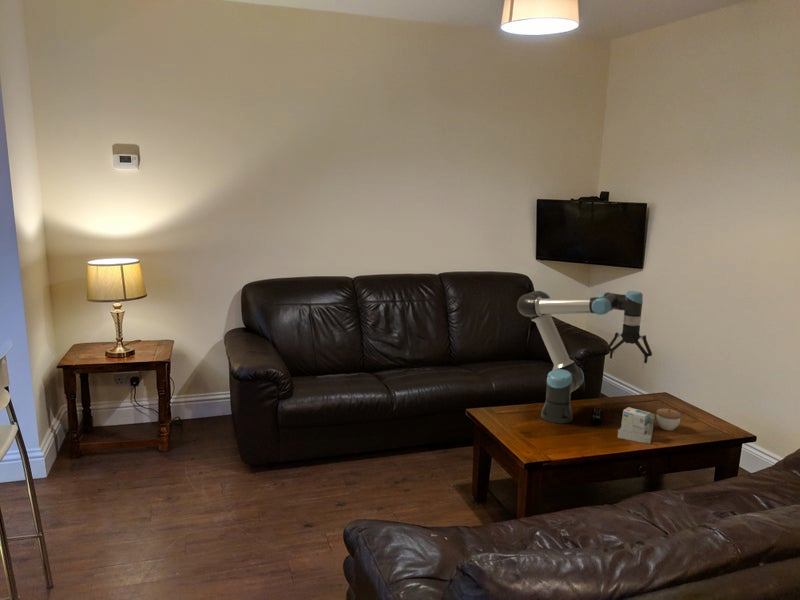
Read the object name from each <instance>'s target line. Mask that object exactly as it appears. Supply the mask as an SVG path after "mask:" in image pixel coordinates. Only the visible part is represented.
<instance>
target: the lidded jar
mask: <svg viewBox="0 0 800 600" xmlns="http://www.w3.org/2000/svg"><path fill="white" fill-rule="evenodd" d="M681 417H682V414H681V413H680V412H679V411H677V410H674V409H671V408H659V409H657V410H656V421H657V424H658V426H659V427H660V429H662V430H664V431H674V430H675V429H676V428H677V427H679V425H680V422H681Z"/></svg>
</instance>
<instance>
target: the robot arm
mask: <svg viewBox="0 0 800 600" xmlns="http://www.w3.org/2000/svg"><path fill="white" fill-rule="evenodd" d="M643 299H644V296H643V293H642V292H641V291H636V290H627V291H626V292H625V294H620V293H614V292H609V291H607V292H603V291H602V292H601V293H600V294H599V296H598V297H596V296H595V297H560V298H557V297H556V298H555V297H554V298H551V297H550V295H549V294H548V293H547V292H545V291H543V290H534V291H532V292H528V293H525V294H523V295H521V296H520V297H519V298H518V300H517V303H516V307H517V310H518V312H519V313H520V314H521V315H522V316H524V317H526V318H527V317H528V318H529V319H530V321H531V322H534V323H535V324H536V327H537V330H538V332H539V333H540V336H541V338H542V339H541V340H542V341H543V343H544V346H545V347H546V350H547V352H548V354H549V357H550V359H551V361H552V363H553V367H552V370H551V371H549V372H548V373H547V378H546V389H545V390H546V391H545V392H546V393H545V402H544V405H543V407H542V409H541V414H540V417H541V418H542V419H543V420H545V421H546V422H549V423H553V424H569V423H570V422H572V421H573V418H574V417H573V416H574V415H573V411H572V407H571V394H572V392H574V391H576V390H577V389H579V388H580V387H581V386H582V385H583V383H584V379H585V375H584V371H583V370H582V368H580V367H579V366H577V365H576V362H575V361H574V360H573V359H570V356H569V354H568V352H567V349H566V347H565V344H564V341H563V339H562V338H561V335H560V333H559V331H558V328H557V326H556V324H555V322H554V319H553V318H552V315H560V314H561V315H564V314H566V315H567V314H570V315H571V314H572V315H573V314H575V315H576V314H596V315H599V316H602V315H606V314H608V313H609V312H611V311H613V310H617V311H623V312H624V313H623V320H622V321H623V322H622V323H623V324H622V332H619V331H615V333H614V336H613V338H612V340H611V342H610V343H609V344H608V346H607V347H606V351H608V352H609V359H611V365H610V366H612V367H614V365H615V357H616V356H615V355H616V350H617V349H618V348H619V347H620V346H621V345H622V344H624V343H625V344H632V345H634V344H635V345H636V346H637V348H638V349H639V350H640V352H641V353H642V354H643V355H642V363H641V371H644V369H645V364H647V363H648V357H652V356H653V352H652V350H651V347H650V345H649V342H648V340H647V335H646V334H643V335H640V333H641V332H640V331H641V321H642V309H643V303H644V302H643ZM620 337H621V338H622V339H621V340H620V341H619V342H617V343H616V344H615V342H616V340H617V338H620ZM640 339H641V341H643V344H644V347H643V346H642V344H641V343H640V341H639V340H640ZM614 344H615V345H614ZM613 345H614V346H613ZM612 346H613V347H612ZM645 348H646V349H645Z"/></svg>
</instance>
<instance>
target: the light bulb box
mask: <svg viewBox="0 0 800 600" xmlns="http://www.w3.org/2000/svg"><path fill="white" fill-rule="evenodd" d="M624 409H625V410H624ZM624 409H623V411H622V415H623V418H621V422H622V429H621V430H626V431H631V432H637V433H642V434H647V435H648V434H649V425H650V414H651V413H652V412H649V411H645V410H641V409H637V408H633V407H630V406H628V407H626V408H624Z"/></svg>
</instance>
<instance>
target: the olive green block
mask: <svg viewBox="0 0 800 600" xmlns="http://www.w3.org/2000/svg"><path fill="white" fill-rule="evenodd" d="M625 409H626V408H624V409H623V410H625ZM650 413H651V414H650V424H653V428H654V425H655V417H656V414H655V413H652V412H650ZM622 418H623V414H622ZM622 418H621V419H622Z"/></svg>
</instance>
